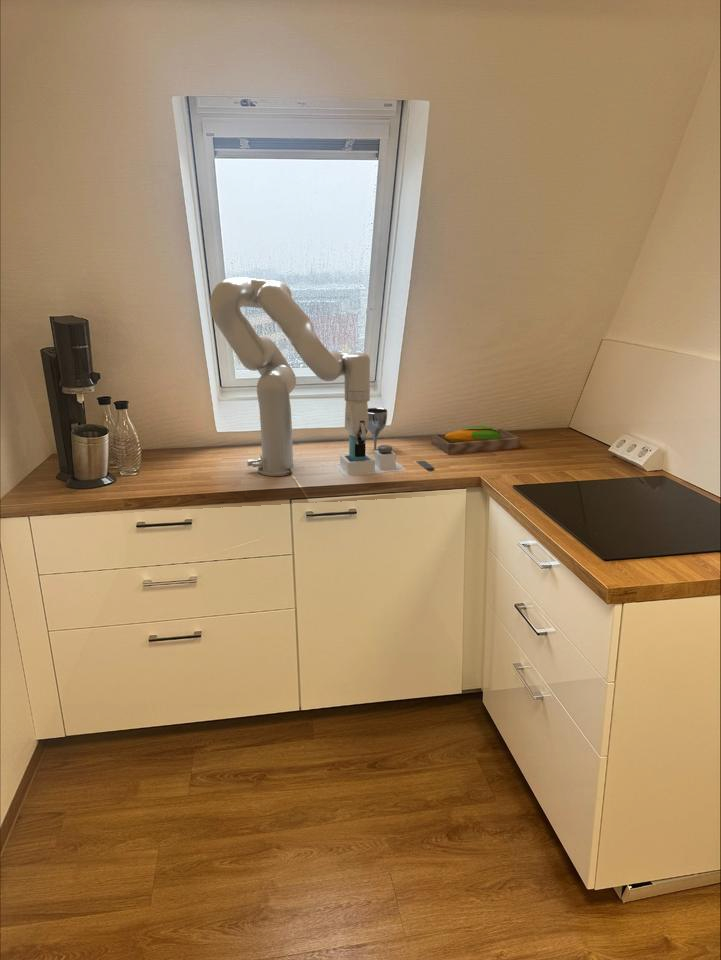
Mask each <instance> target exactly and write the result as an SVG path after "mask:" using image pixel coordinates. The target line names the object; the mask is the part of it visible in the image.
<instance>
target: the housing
mask: <svg viewBox="0 0 721 960" xmlns="http://www.w3.org/2000/svg"><path fill="white" fill-rule="evenodd" d="M396 457H397V454H396V453H395V452H394V451H393V450H392V452H389V454H381V452H379V451H378V450H374V458H373V457H372V456H370V454H368V453H367V452H365V460H364V461H353V462H350V461H349V454H340V456H339V460H340V461H339V463H340V464H333V466H334V467H335V468H336V470H337V471H338V472H339V473H340V474H341V475H342V476H343V477H353V476H363V475H374V474H384V473H396V472H402V471H407V468H405V467H404V466H402V465H401V464H400V463H398V462H397V461H396V460H397V459H396Z"/></svg>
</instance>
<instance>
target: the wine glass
mask: <svg viewBox="0 0 721 960" xmlns="http://www.w3.org/2000/svg"><path fill="white" fill-rule="evenodd" d="M387 420H388V409H386V408H382V407H368V433H370V434H371V436H372V439H373V451H377V441H378V437H379V435H380V434H381V433H382V432H383V430H384V429H385V427H386V426H387V422H388V421H387Z"/></svg>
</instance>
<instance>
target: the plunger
mask: <svg viewBox="0 0 721 960" xmlns="http://www.w3.org/2000/svg"><path fill="white" fill-rule="evenodd" d="M377 451H379V452H381V454H389V452H392V451H393V446H392V445H388V444H381V445H378V446H377Z"/></svg>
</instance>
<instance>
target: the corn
mask: <svg viewBox="0 0 721 960" xmlns="http://www.w3.org/2000/svg"><path fill="white" fill-rule="evenodd" d="M461 428H462V429H461ZM460 429H461V430H454V431H450V432H447V433H448V434H447V435H445V436H444V437H445V439H446V440H448V441H451V442H455V443H460V442H471V441H483V440H495V439H501V438H502V436H501V434H500V433H499V431H497V430H496V429H497V428H494V427H492V426H487V425H469V426H460ZM492 429H493V430H492ZM495 430H496V431H495Z"/></svg>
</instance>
